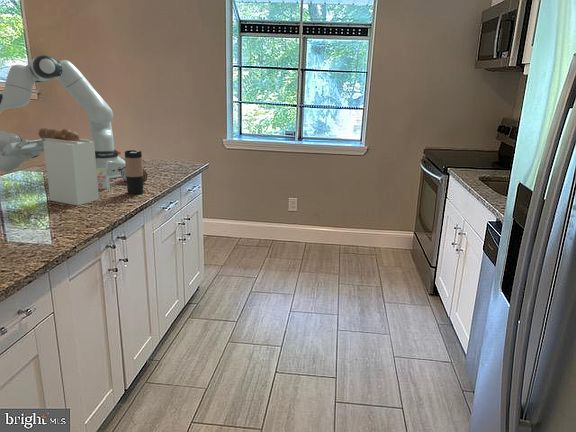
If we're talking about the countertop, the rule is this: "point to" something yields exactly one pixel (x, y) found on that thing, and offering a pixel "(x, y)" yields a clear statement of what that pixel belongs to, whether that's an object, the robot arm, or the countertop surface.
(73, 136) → the wooden turned rod
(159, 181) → the countertop surface
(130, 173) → the travel mug
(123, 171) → the tin
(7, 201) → the countertop surface
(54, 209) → the countertop surface
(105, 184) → the small grey carton
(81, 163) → the gray stand
